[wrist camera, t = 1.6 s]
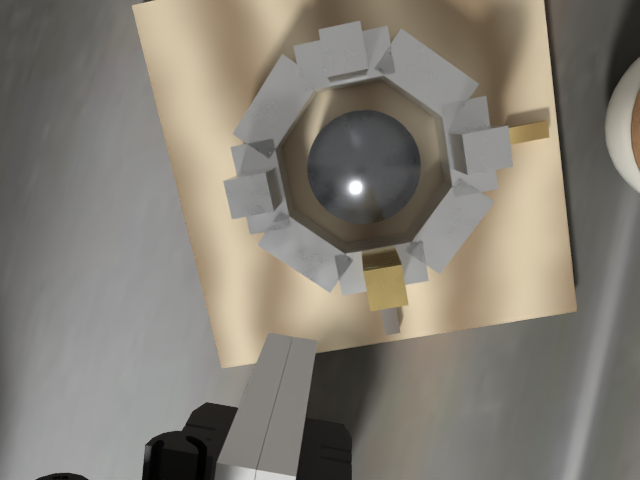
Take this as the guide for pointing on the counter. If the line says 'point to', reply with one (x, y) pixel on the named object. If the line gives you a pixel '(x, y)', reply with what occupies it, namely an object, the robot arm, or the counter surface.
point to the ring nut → (441, 210)
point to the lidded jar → (625, 126)
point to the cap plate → (236, 97)
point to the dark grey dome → (364, 166)
